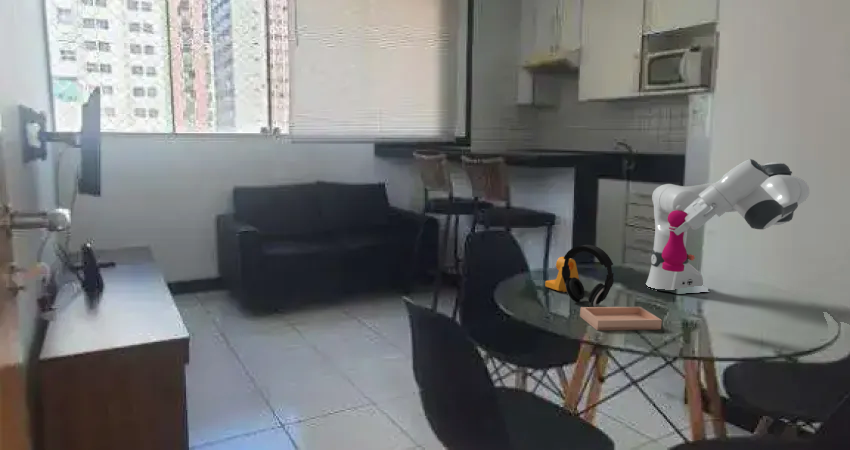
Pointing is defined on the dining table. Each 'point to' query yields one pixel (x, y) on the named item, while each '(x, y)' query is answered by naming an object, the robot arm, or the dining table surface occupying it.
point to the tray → (620, 318)
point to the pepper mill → (675, 243)
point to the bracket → (559, 281)
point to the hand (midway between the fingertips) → (674, 231)
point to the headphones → (575, 285)
